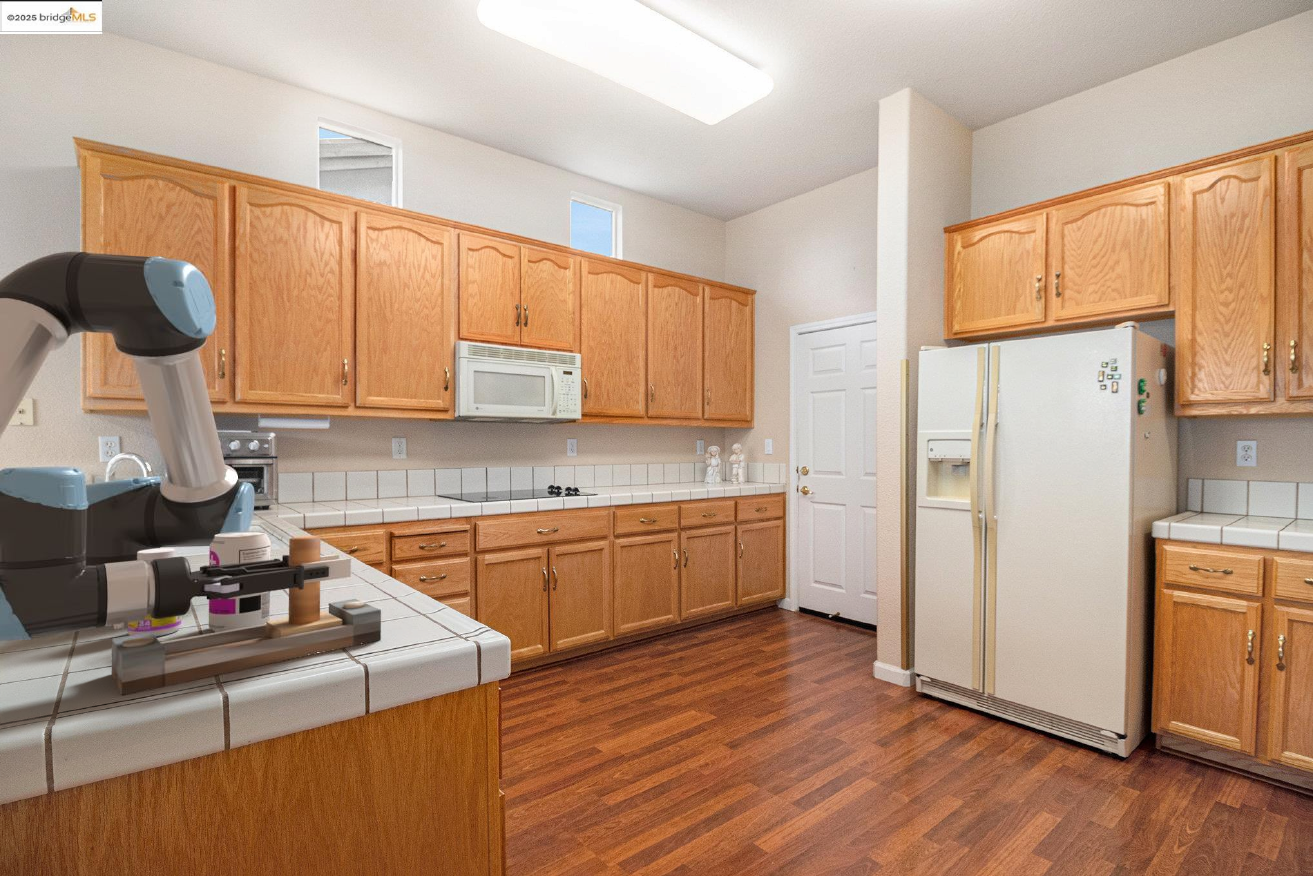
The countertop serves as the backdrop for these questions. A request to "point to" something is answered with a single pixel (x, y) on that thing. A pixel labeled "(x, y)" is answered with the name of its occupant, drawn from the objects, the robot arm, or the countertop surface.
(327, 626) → the carriage
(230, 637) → the track
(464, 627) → the countertop surface
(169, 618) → the supplement bottle
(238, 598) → the supplement can
